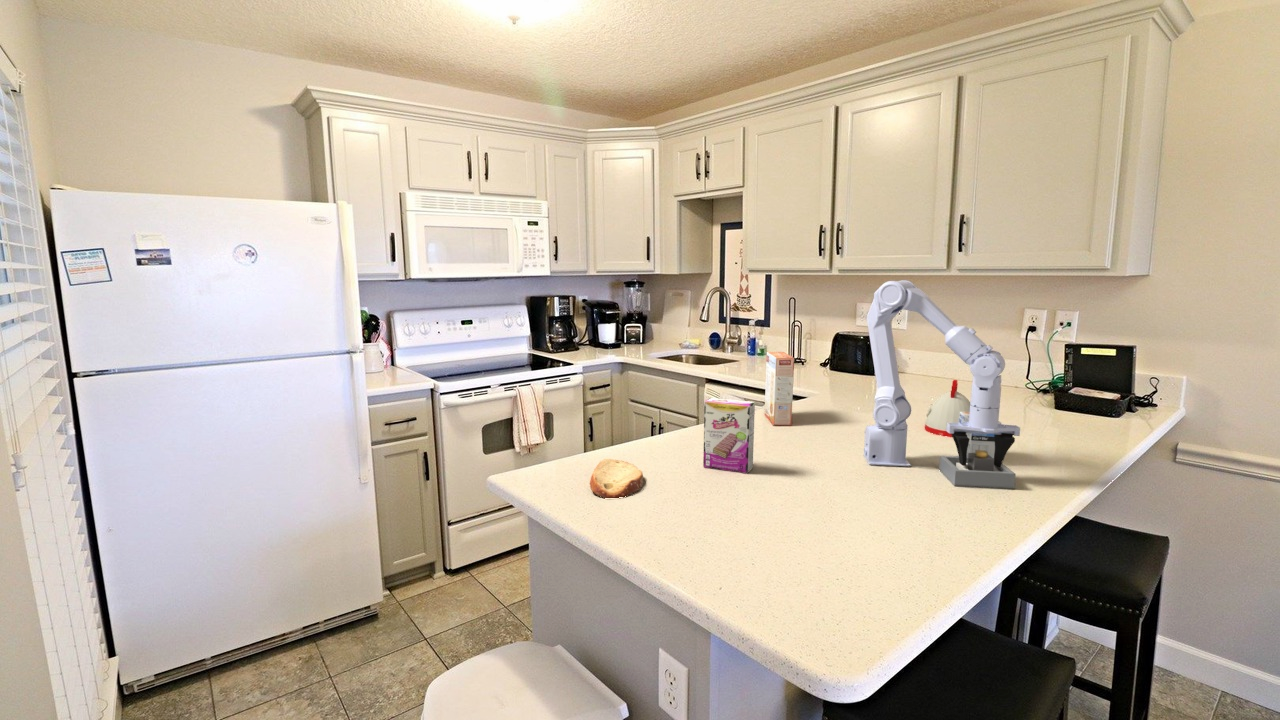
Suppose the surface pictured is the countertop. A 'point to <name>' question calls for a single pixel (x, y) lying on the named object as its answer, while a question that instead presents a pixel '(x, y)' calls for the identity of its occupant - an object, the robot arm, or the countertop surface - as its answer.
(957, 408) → the cream dome
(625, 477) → the slice of bread
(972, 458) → the plug
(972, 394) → the robot arm
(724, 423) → the candy bar box
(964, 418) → the light bulb box
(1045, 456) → the countertop surface
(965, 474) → the box
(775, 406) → the cracker box
